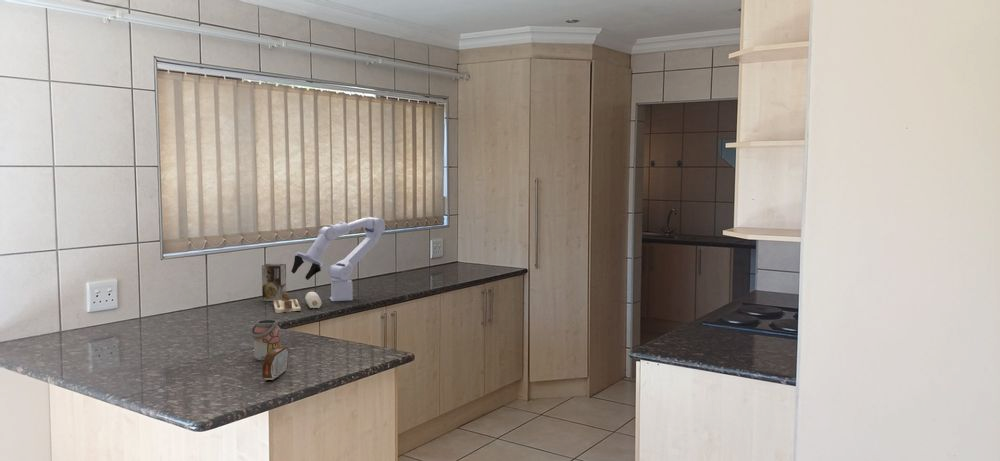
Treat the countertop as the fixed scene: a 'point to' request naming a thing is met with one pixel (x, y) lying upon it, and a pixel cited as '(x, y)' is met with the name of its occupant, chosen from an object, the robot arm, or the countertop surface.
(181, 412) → the countertop surface
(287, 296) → the roll holder
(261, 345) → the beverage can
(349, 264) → the robot arm
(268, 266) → the coffee box
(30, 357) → the countertop surface
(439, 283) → the countertop surface
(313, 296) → the paper roll
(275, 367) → the tin
